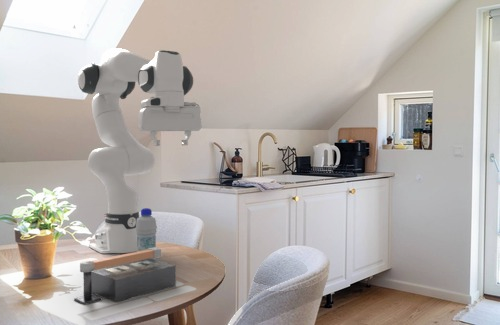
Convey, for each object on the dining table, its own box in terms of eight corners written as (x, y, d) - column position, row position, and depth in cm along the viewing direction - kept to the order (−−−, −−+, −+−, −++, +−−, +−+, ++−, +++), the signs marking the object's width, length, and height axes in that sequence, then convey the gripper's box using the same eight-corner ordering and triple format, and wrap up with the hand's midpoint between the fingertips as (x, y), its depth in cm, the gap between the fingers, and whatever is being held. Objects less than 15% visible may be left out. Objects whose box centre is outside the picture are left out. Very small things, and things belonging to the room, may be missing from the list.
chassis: (87, 291, 144) (87, 268, 144) (146, 276, 159) (146, 256, 159) (115, 302, 135) (115, 278, 134) (175, 285, 149) (175, 264, 149)
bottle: (149, 265, 172) (149, 206, 171) (161, 269, 167) (160, 208, 166) (132, 269, 167) (131, 208, 166) (143, 273, 163) (142, 210, 161)
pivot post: (74, 300, 137) (73, 271, 136) (91, 296, 140) (90, 268, 140) (84, 304, 133) (83, 275, 133) (101, 300, 137) (100, 271, 136)
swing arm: (84, 273, 134) (84, 264, 134) (77, 271, 136) (77, 262, 136) (161, 256, 152) (161, 248, 152) (154, 254, 154) (154, 247, 154)
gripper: (196, 103, 171) (197, 145, 171) (135, 101, 160) (136, 146, 161) (204, 101, 165) (205, 145, 166) (142, 100, 155) (143, 146, 155)
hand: (170, 145), depth 163 cm, fingers open, 8 cm apart
